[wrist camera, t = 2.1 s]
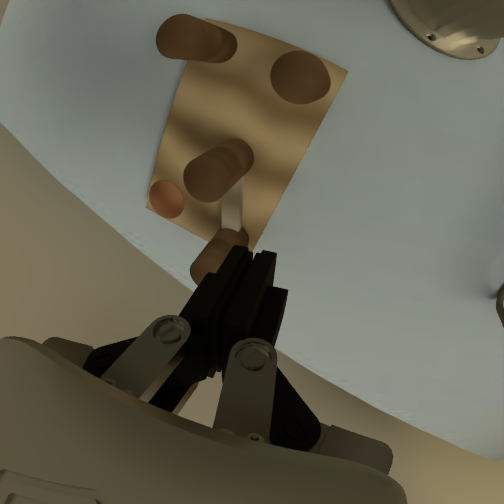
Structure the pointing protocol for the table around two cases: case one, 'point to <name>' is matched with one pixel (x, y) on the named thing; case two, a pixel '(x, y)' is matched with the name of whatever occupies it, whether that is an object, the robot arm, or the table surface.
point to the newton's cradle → (500, 305)
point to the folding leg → (214, 188)
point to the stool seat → (237, 116)
